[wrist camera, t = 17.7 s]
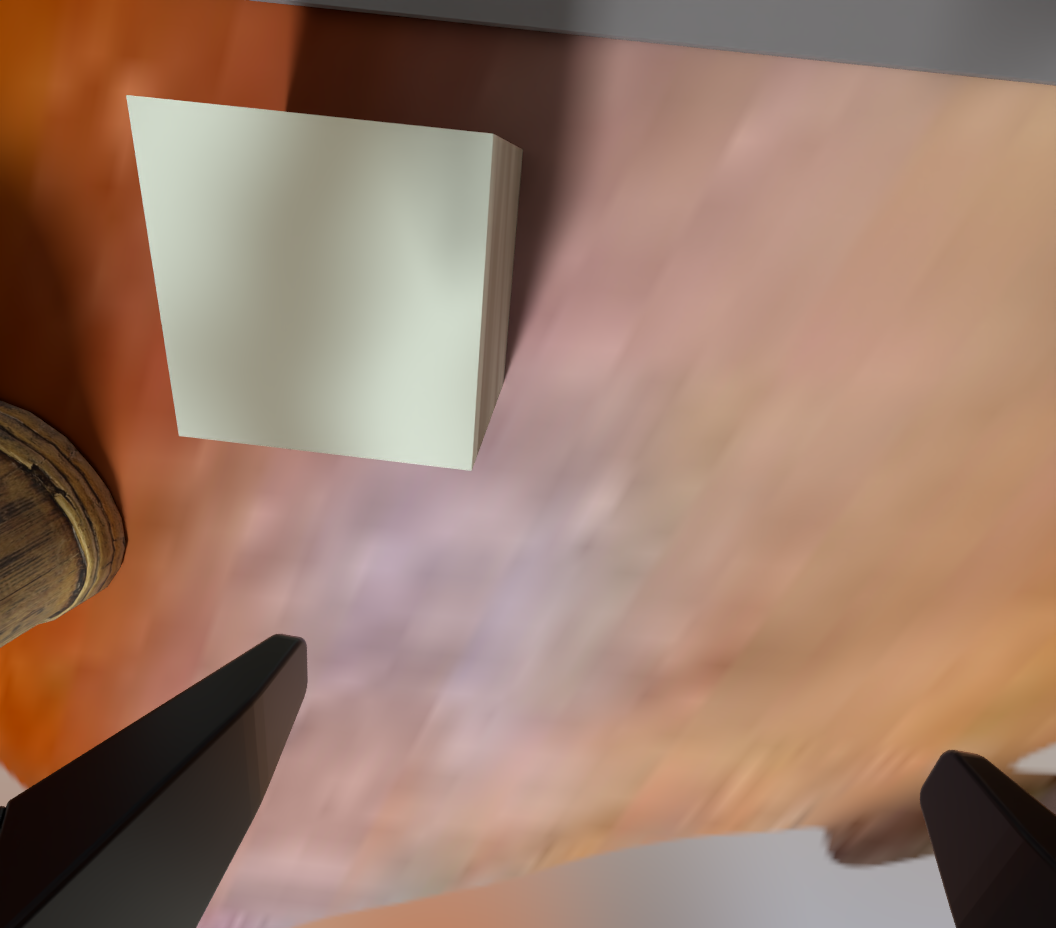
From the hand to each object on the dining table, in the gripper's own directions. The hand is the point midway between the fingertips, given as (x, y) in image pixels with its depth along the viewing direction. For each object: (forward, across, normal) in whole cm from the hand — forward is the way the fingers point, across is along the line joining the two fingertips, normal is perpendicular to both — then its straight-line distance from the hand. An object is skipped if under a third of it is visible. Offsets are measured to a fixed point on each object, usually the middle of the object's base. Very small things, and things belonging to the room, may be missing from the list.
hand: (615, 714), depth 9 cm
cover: (+12, +7, -4) cm, 14 cm away
